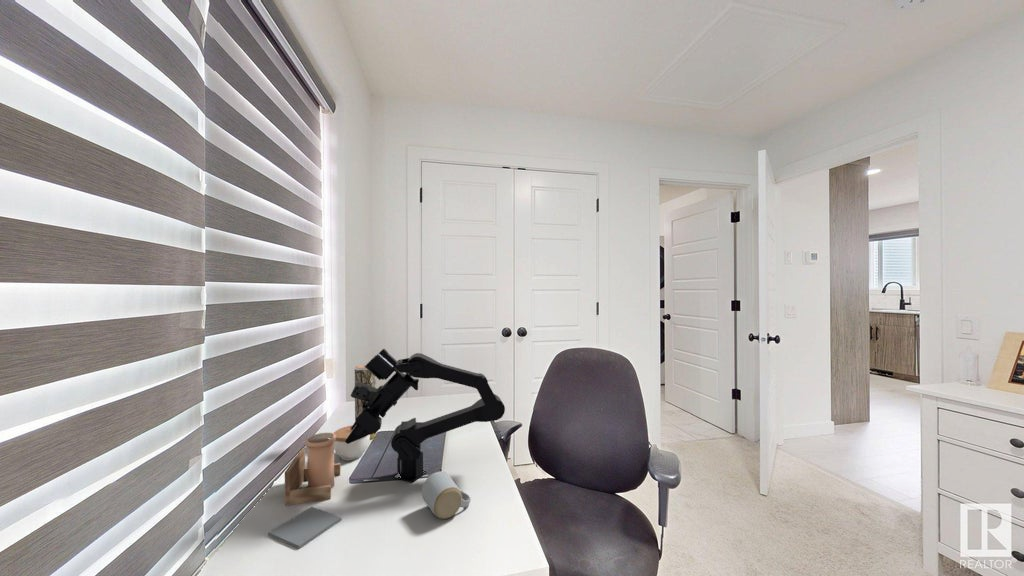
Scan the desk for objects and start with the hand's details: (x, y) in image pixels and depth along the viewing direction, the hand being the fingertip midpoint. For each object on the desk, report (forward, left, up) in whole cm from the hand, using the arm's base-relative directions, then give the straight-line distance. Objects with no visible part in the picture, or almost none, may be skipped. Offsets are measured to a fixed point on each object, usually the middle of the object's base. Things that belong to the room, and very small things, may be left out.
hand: (349, 435), depth 98 cm
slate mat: (-6, +17, -13) cm, 22 cm away
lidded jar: (+13, -12, -13) cm, 22 cm away
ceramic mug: (-30, -2, -13) cm, 33 cm away
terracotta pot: (+5, +4, -13) cm, 15 cm away
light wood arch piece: (+6, +5, -13) cm, 15 cm away
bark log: (+20, -24, -13) cm, 34 cm away
